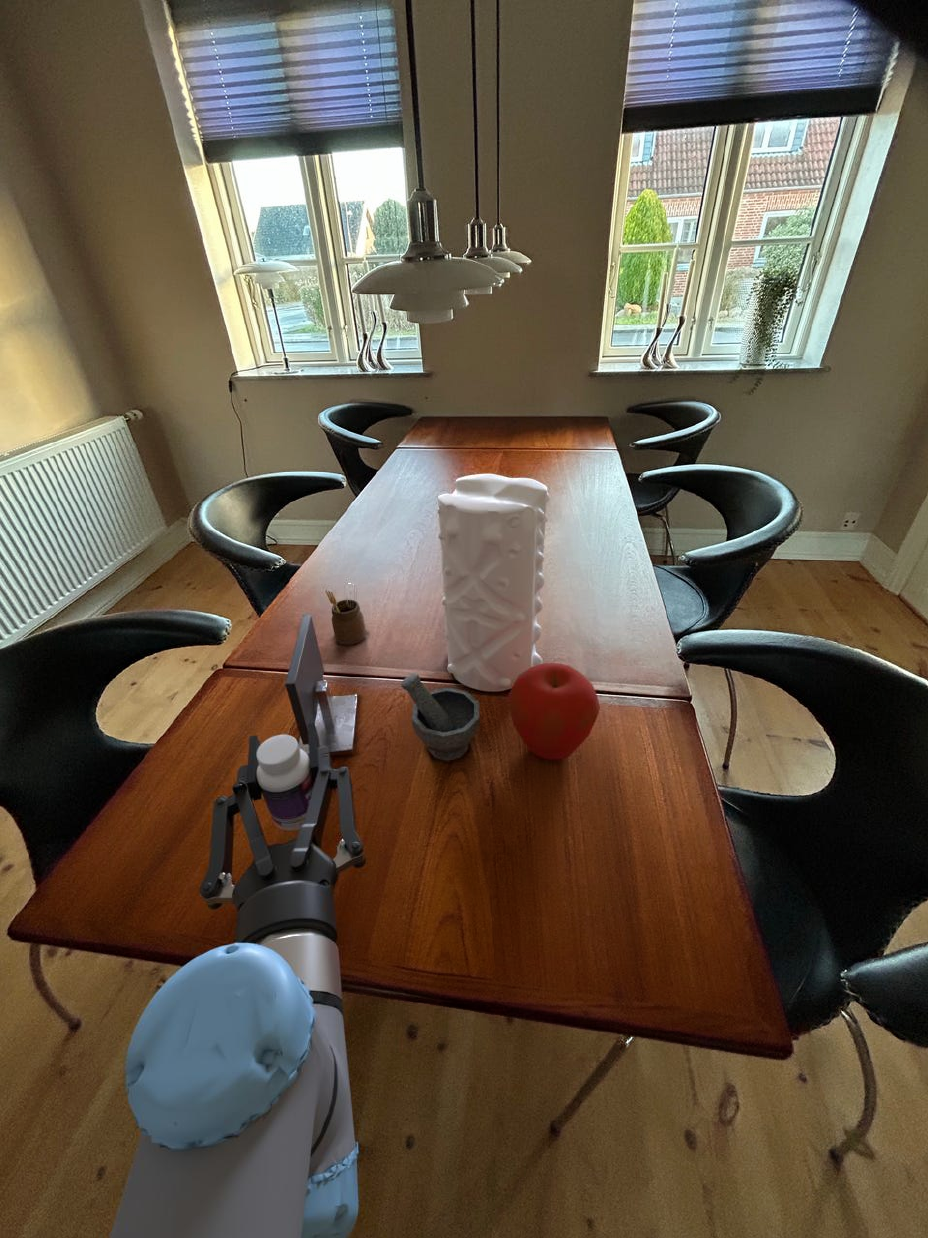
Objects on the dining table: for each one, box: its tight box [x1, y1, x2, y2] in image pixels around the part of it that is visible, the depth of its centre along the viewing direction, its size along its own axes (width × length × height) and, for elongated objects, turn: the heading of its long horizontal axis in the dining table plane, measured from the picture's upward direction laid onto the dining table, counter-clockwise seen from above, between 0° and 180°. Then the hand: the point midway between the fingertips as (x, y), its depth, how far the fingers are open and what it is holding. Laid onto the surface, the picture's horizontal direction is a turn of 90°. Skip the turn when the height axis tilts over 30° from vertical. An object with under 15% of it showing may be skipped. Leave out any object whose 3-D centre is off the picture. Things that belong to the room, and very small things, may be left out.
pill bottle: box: [256, 734, 315, 832], centre depth 55 cm, size 5×5×10 cm
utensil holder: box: [325, 582, 367, 646], centre depth 99 cm, size 6×6×12 cm
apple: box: [506, 662, 601, 760], centre depth 74 cm, size 12×12×14 cm
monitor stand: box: [298, 679, 359, 758], centre depth 80 cm, size 8×12×8 cm, turn 6°
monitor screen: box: [284, 614, 325, 745], centre depth 76 cm, size 1×16×11 cm, turn 6°
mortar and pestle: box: [401, 673, 480, 762], centre depth 76 cm, size 11×9×12 cm
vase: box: [437, 473, 551, 692], centre depth 85 cm, size 17×16×32 cm
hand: (285, 738), depth 59 cm, fingers closed on pill bottle, 5 cm apart
